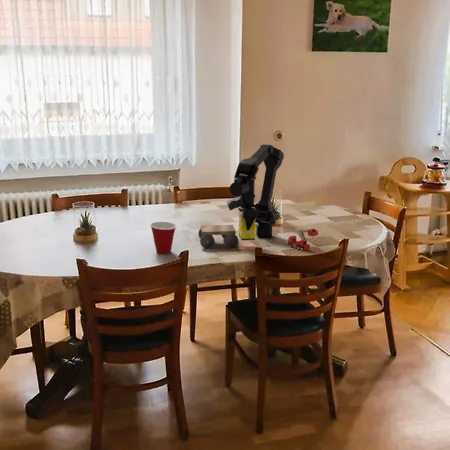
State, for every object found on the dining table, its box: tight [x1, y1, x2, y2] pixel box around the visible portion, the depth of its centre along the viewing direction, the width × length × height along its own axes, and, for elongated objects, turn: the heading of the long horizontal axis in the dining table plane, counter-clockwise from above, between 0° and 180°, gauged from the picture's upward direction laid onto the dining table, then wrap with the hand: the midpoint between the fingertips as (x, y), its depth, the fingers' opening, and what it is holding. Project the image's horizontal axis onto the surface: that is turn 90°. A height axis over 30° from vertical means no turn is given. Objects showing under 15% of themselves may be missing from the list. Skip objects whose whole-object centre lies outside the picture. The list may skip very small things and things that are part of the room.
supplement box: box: [238, 211, 256, 242], centre depth 228 cm, size 6×6×11 cm
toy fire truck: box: [287, 228, 319, 252], centre depth 227 cm, size 3×14×10 cm, turn 45°
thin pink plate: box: [236, 243, 256, 251], centre depth 230 cm, size 7×7×1 cm
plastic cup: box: [149, 221, 178, 255], centre depth 221 cm, size 11×11×12 cm
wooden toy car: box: [197, 224, 239, 250], centre depth 233 cm, size 16×13×7 cm
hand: (246, 228), depth 228 cm, fingers closed on supplement box, 6 cm apart
